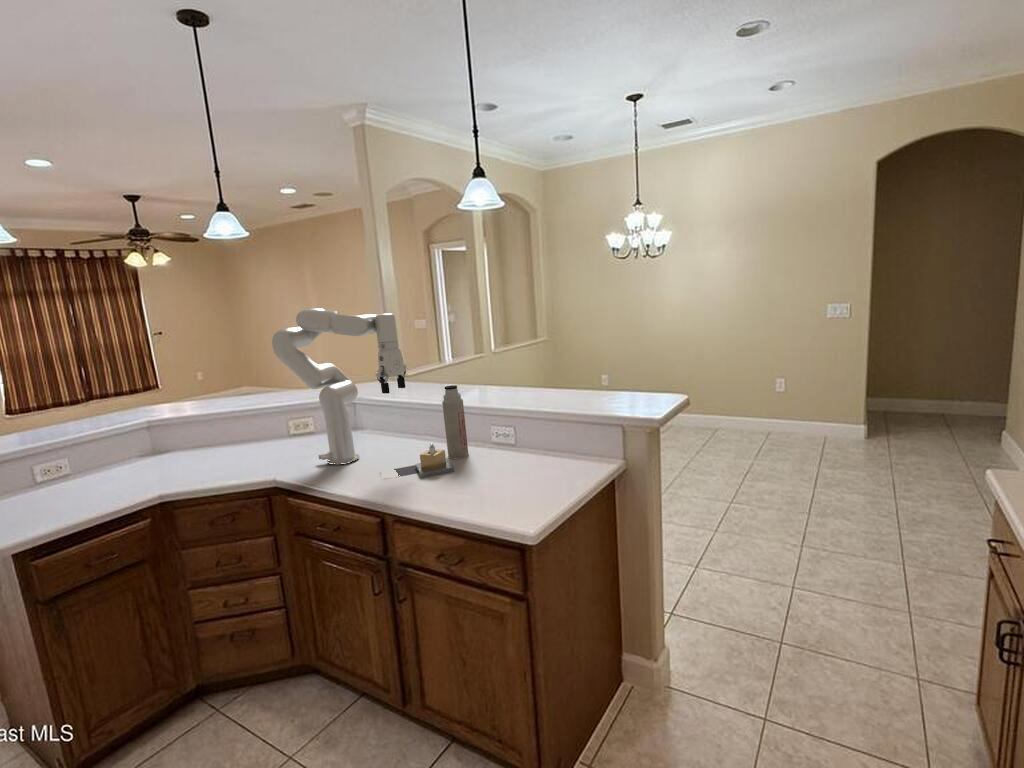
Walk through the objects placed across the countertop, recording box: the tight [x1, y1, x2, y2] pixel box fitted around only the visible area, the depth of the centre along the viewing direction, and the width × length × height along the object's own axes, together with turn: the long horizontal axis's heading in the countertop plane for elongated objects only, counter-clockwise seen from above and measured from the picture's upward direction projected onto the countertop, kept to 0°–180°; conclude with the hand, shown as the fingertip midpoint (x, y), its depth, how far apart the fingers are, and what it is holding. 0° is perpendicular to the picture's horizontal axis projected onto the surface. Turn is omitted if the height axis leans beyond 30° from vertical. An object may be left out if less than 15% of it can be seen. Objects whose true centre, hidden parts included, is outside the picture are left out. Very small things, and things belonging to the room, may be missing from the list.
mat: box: [393, 464, 419, 478], centre depth 194 cm, size 14×10×1 cm
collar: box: [419, 448, 446, 469], centre depth 193 cm, size 6×6×5 cm
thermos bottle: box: [441, 384, 469, 459], centre depth 207 cm, size 8×8×28 cm
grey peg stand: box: [414, 443, 455, 479], centre depth 193 cm, size 12×12×10 cm
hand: (394, 390), depth 203 cm, fingers open, 9 cm apart
